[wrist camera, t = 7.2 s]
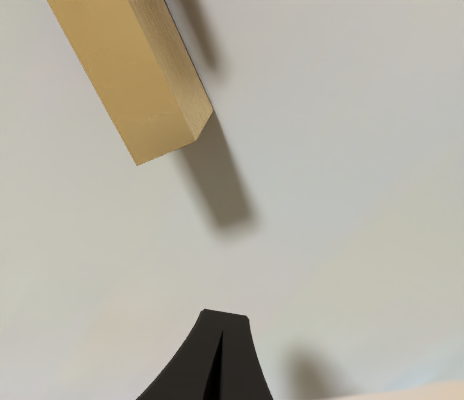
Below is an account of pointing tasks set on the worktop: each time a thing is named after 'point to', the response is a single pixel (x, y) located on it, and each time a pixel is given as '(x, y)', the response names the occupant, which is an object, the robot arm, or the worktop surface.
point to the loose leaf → (138, 71)
